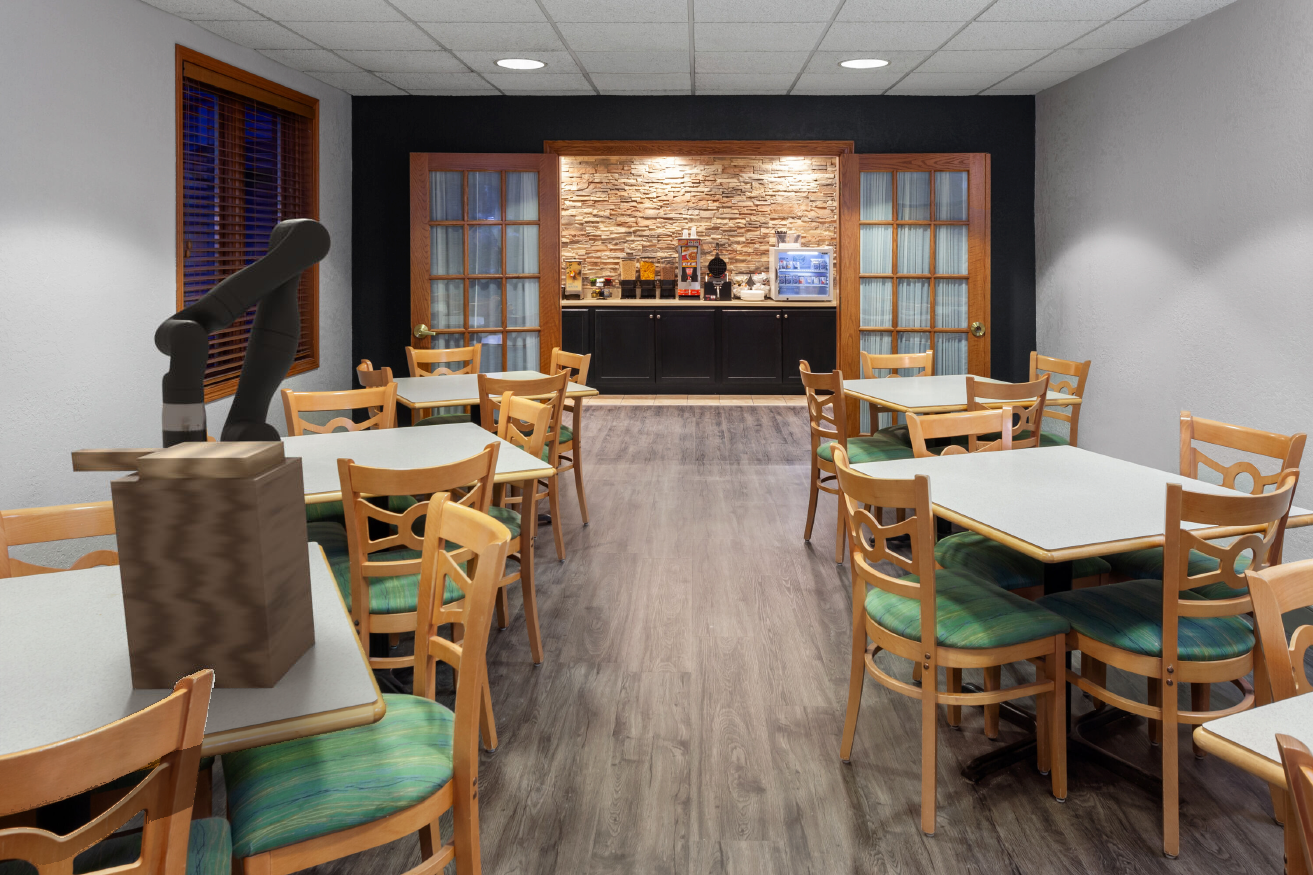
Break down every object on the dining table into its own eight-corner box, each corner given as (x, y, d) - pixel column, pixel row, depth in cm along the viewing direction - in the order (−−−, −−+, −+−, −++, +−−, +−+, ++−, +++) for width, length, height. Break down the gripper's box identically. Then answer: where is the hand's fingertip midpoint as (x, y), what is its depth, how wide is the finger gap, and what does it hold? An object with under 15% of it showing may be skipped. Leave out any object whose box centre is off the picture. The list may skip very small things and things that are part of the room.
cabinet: (315, 641, 157) (301, 457, 151) (272, 687, 139) (255, 480, 134) (191, 642, 157) (173, 458, 151) (132, 689, 139) (110, 481, 133)
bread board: (285, 459, 149) (283, 441, 149) (247, 477, 136) (246, 457, 135) (105, 461, 149) (103, 442, 149) (50, 479, 135) (47, 459, 135)
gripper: (221, 428, 172) (224, 514, 174) (188, 422, 181) (191, 503, 183) (180, 431, 166) (183, 520, 168) (147, 424, 175) (151, 508, 177)
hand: (187, 511), depth 175 cm, fingers open, 8 cm apart
